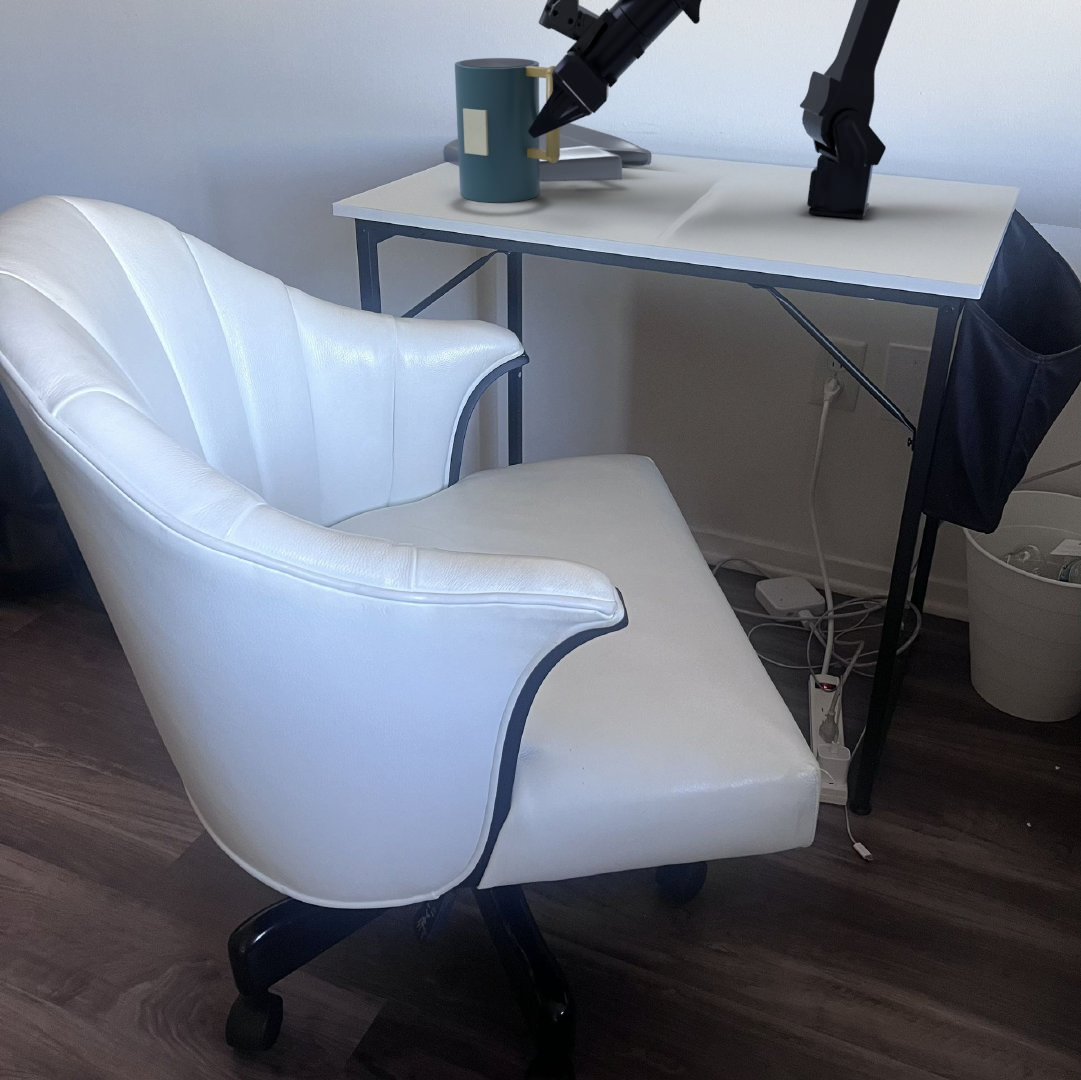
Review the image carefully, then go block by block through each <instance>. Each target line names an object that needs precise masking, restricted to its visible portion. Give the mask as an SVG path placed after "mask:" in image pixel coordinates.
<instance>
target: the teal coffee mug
mask: <svg viewBox="0 0 1081 1080" xmlns="http://www.w3.org/2000/svg"><path fill="white" fill-rule="evenodd" d="M555 67H556V65H550V66H549V67H546V66H540V62H539V61H537V60H534V59H526V58H516V57H515V58H513V57H486V58H472V59H471V58H470V59H464V60H459V61H456V62H455V63H454V79H455V84H454V85H455V103H456V107H455V108H456V125H457V128H456V129H457V139H458V153H459V166H458V175H459V194H460V196H461V197H462V198H464V199H466V200H469V201H474V202H481V203H493V204H494V203H496V204H498V203H500V204H503V203H516V202H523V201H528V200H531V199H534V198H536V197H538V196H539V195H540V192H541V188H540V187H541V186H540V185H541V183H540V182H541V181H540V159H541V160H547V161H549V162H550V163H556V162H557V161H558V160H559V158H560V127H559V128H557V129H555V130H553V131H550V132H548V133H546V150H545V149H539V137H537V138H533V137H532V136H531V135H530V134H529V133H528V130H529V128H530V127H531V125H532V124H533V122H534V120H535V119H536V117H537V116H538V114H539V113H540V78H541V79H545V103H546V102H547V100H548V98H549V97H550V95H551V94H552V91H553V78H552V72H553V70H554V68H555Z"/></svg>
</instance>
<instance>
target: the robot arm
mask: <svg viewBox="0 0 1081 1080" xmlns="http://www.w3.org/2000/svg"><path fill="white" fill-rule="evenodd" d="M701 3H702V0H617V1H616V2H615V3H614V4H613V5H612V6H611V7H610V8H608V7H606V8H605V9H604V10H603V12H602V13H601V14H599V15H598V14H596V13H594V12H593V11H591V10H589V9H588V8H586V7H584V6H582V5H580V0H547V1H546V3H545V5H544V8H543V10H542V12H541V15H540V17H539V20H538V24H539V25H540V26H542V27H544V28H545V29H547V30H553V31H555V32H557V33H559V34H561V35H563V36H565V37H567V38H569V39H571V40H573V41H575V42H574V43H573V44H572V45H571V46H570V47H569V49H568V50H567V51H566V53H565V54H564V55H563V57H562V59H561V60H560V61H559V62H558V63H557V64H556V65H555V66H556V67H555V68H554V70H553V72H552V78H553V91H552V94H551V95H550V97H549V98H548V100H547V102H546V101H545V102H544V104H543V106H542V108H541V110H539V114H538V116H537V117H536V119H535V120H534V122H533V124H532V125H531V127H530V128H529V130H528V133H529V134H530V135H531V136H532V137H533V138H537V137H539V136H541V135H543V134H546V133H548V132H550V131H553V130H555V129H557V128H559V127H562V126H564V125H566V124H569V123H573V122H575V121H579V120H580V119H583V118H586V117H590V116H591V115H592V114H596V112H597V111H598V110H599V109H600V108H601V107H603V105H604V104H605V103H606V102H607V101H608V98H609V88H610V89H611V88H612V87H613V86H614V85H615V84H616V83H617V82H618V80H619V78H620V77H621V76H622V75H623V74H624V73H625V72H626V71H627V70H628V69H629V68H630V66H632V64H633V63H634V62H635V61H636V60H639V59H640V58H642V56H643V55H644V54H645V52H646V50H647V49H648V48H649V47H650V46H651V45H652V44H653V43H654V42H655V41H656V40H657V39H658V38H659V37H660V36H661V34H662V33H663V32H664V31H665V30H666V29H667V28H668V27H669V26H670V25H671V24H672V23H673V22H674V21H675V20H676V19H677V18H678V17H679V15H681V14H682V12H684V14H685V15H686V16H687V17H688V19H690V21H691V22H692V23H693V24H694V25H696V24H699V23H700V20H701V17H700V12H701V11H700V10H701ZM900 3H901V0H855V2H854V4H853V8H852V11H851V14H850V17H849V20H848V22H847V25H846V28H845V31H844V33H843V37H842V40H841V42H840V45H839V48H838V51H837V53H836V56H835V58H834V60H833V61H832V63H831V64H830V65H829V67H827V69H826V71H825V72H824V73H821V72H819V71H814V70H813V71H812V73H811V75H810V78H809V83H808V89H807V93H806V95H805V97H804V99H803V100H802V102H801V103H800V104H799V107H800V108H801V109H803V112H802V117H801V121H802V126H803V128H804V131H805V133H806V134H807V135H808V136H809V137H810V138H811V139H812V141H813V145H814V150H815V152H816V153H817V154H820V155H819V157H818V158H817V162H816V166H815V167H814V168H813V169H812V170H811V171H810V177H809V184H808V185H809V187H808V194H807V202H806V205H807V207H809V208H808V212H807V214H809V215H817V216H827V217H829V216H830V217H839V218H849V219H850V218H852V219H864V217H865V215H866V214H867V211H868V209H869V207H870V203H869V202H868V201H869V195H870V190H871V189H870V188H871V182H872V176H873V175H872V174H873V169H874V166H878V165H879V164H880V162H881V160H882V158H883V156H884V154H885V152H886V149H887V147H886V145H885V144H884V142H883V141H882V140H881V139H880V137H879V136H878V135H877V133H875V131H874V130H873V129H872V128H871V126H870V122H871V119H872V113H873V108H874V104H875V91H876V90H875V89H876V88H875V82H876V81H875V75H876V74H875V73H876V69H877V66H878V62H879V60H880V56H881V54H882V52H883V48H884V45H885V43H886V41H887V37H888V35H889V32H890V30H891V27H892V24H893V21H894V19H895V15H896V13H897V11H898V8H899V5H900Z"/></svg>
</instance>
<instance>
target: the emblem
mask: <svg viewBox="0 0 1081 1080" xmlns="http://www.w3.org/2000/svg"><path fill="white" fill-rule="evenodd" d="M539 149H545V150H546V134H543V135H541V136H539ZM442 154H443V160H444V161H445V162H447V163H450V164H452V165H454V166H457V167H459V153H458V138H457V139H453V140H451V141H449V142H448V143H447V144H444V146H443V153H442ZM652 158H653V157H652V152H651V150H649V149H646V148H643V147H641V146H639V145H637V144H635V143H633V142H630V141H628V140H627V139H624V138H621V137H618V136H616V135H612V134H609V133H607V132H603V131H600V130H596V129H592V128H589V127H585V126H582V125H578V124H576V123H573V122H571V123H569V124H566V125H564V126H562V127H560V158H559V160H558V161H557V162H556V163H550V162H549V161H547V160H541V159H540V182H561V181H562V182H563V181H565V182H566V181H604V180H605V181H606V180H608V181H611V180H622V179H623V167H643V166H650V165H651V164H652V160H653V159H652Z"/></svg>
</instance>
